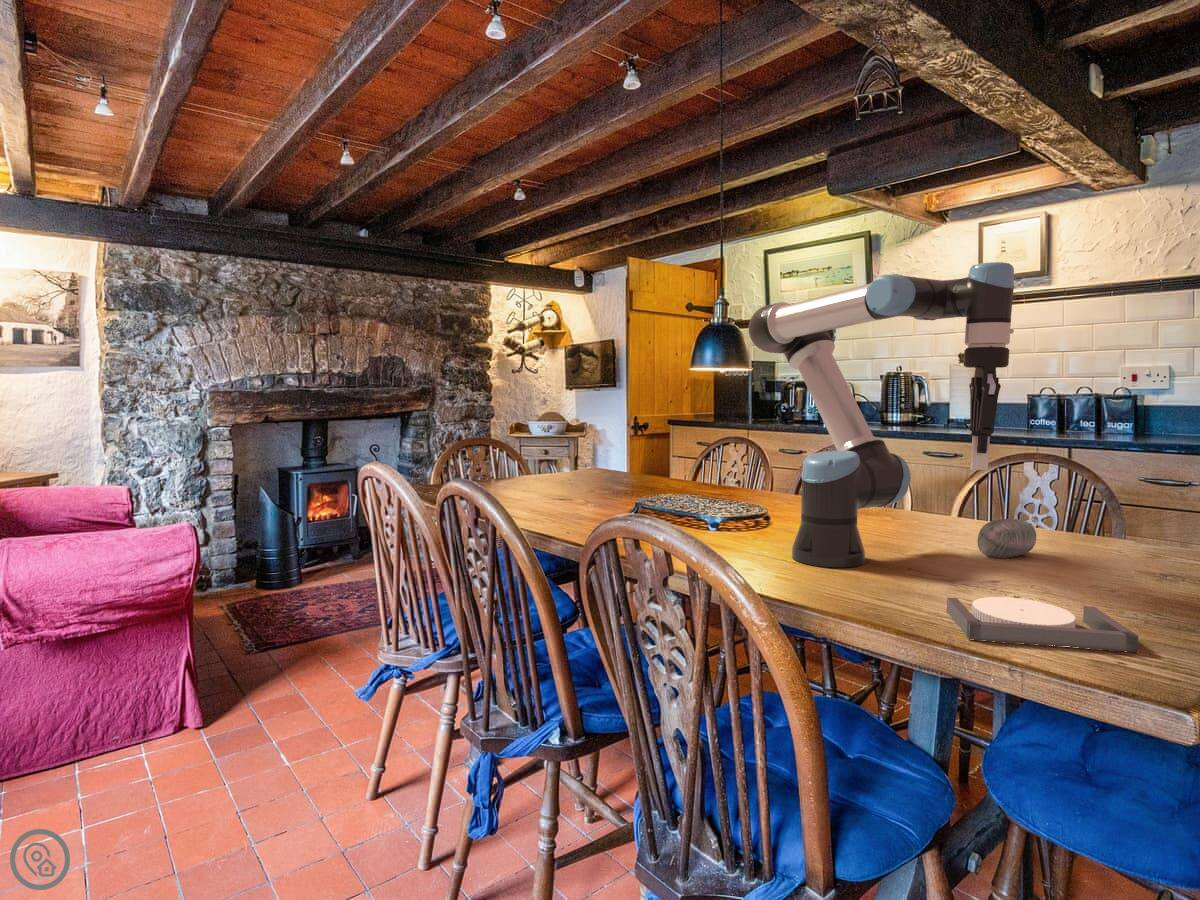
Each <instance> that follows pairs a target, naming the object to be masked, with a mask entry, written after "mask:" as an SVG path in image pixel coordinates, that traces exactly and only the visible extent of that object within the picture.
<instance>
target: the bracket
mask: <svg viewBox="0 0 1200 900" xmlns="http://www.w3.org/2000/svg"><path fill="white" fill-rule="evenodd" d="M947 612H948V613H947ZM946 613H947V614H949V615H950V616H951V617H952V618H951V617H950V616H949V617H950V618H951V620H952V619H953V620H954V621H955V622H956V623H955V622H954V621H953V620H952V621H953V622H954V623H955V624H957V625H958V626H959V627H960V628H961V630H962V631H963V632H964V633H965V634H966V636H967V637H968V638H969V639H974V640H986V641H995V642H1005V643H1004V644H1008V643H1024V644H1038V645H1053V646H1054V645H1055V646H1070V647H1079V648H1090V649H1102V650H1111V651H1110V652H1114V651H1127V652H1137V653H1138V647H1139V635H1138V634H1137V633H1135V632H1133V631H1131V630H1130V629H1129V628H1128V627H1126V626H1124V625H1123V624H1121V623H1119V622H1118V621H1117V620H1115V619H1114V618H1112V617H1111V616H1109V615H1107V614H1106V613H1105V612H1103V611H1102V610H1100V609H1099V608H1098V607H1095V606H1090V605H1088V606H1087V605H1083V615H1082V622H1083V623H1084V624H1086V625H1087V626H1088V627H1090V628H1091V629H1089V628H1078V627H1077V628H1076V627H1075V628H1064V627H1060V626H1045V625H1021V624H1006V623H992V622H981V621H979V620H977V618H975V617H974V616H973V615H972V612H971V611H969V610H968V608H967V607H966V606H965V605H964V604H963V602H961V600H959V599H958V598H957V597H946ZM957 625H956V626H957ZM958 626H957V627H958ZM959 627H958V628H959ZM960 628H959V629H960ZM961 630H960V631H961ZM962 631H961V632H962ZM963 632H962V633H963ZM964 633H963V634H964ZM966 636H965V637H966ZM967 637H966V638H967ZM968 638H967V639H968ZM995 642H994V643H995ZM1127 652H1126V653H1127Z"/></svg>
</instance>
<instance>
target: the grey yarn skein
mask: <svg viewBox="0 0 1200 900" xmlns="http://www.w3.org/2000/svg"><path fill="white" fill-rule="evenodd" d="M1037 537H1038V536H1037V531H1036V529H1035V527H1034V526H1033V525H1032V524H1031V523H1029V522H1028V521H1026V520H1022V519H1017V518H1001V519H995V520H991V521H989V522H987V523H985V524H983V526H982V527H981V528H980V530H979V533H978V535H977V540H976V541H977V542H976V544H977V547H978V550H979V551H980V552H981V553H982V554H983V555H985V556H986V557H989V558H992V559H993V558H994V559H995V558H996V559H1005V558H1015V557H1018V556H1022V555H1025V554H1027V553H1029V552H1030V551H1032V550H1033V549H1034V547H1035V545H1036V542H1037Z"/></svg>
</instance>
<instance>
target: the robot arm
mask: <svg viewBox="0 0 1200 900" xmlns="http://www.w3.org/2000/svg"><path fill="white" fill-rule="evenodd" d="M1015 287H1016V286H1015V268H1014V266H1013V264H1011V263H1009V262H1004V261H1003V262H1002V261H999V262H998V261H997V262H992V261H991V262H982V263H978V264H973V265H971V266H970V268H969V270H968V275H967V277H963V278H955V279H946V280H944V279H942V280H941V279H934V278H932V279H931V278H923V277H915V276H909V275H907V276H906V275H903V274H897V273H895V274H882V275H879V276H878V277H876V278H875V279H874V280H873V281H872V282H871V283H868V284H863V285H859V286H854V287H853V288H849V289H843V290H840V291H836V292H832V293H829V294H824V295H822V296H816V297H813V298H810V299H806V300H801V301H798V302H794V303H791V304H789V303H787V302H785V301H784V302H783V301H781V302H775V303H771V304H768V305H763V306H762V307H760V308H758V309H757V310H756V311H755V312H754V313H753V314H752V316H751V318H749V319H750V320H749V323H748V334H749V337H750V340H751V342H752V344H754V345H755V347H756V348H758V349H759V350H761V351H763V352H766V353H770V354H772V353H773V354H784V357H785V358H786V360H787V362H788V364H789V366H790V368H792V369H794V370H797V371H798V370H799V373H800V374H801V377H802V379H803V381H804V384H805V385H806V388H807V390H808V392H809V394H810V396H811V398H812V400H813V402H814V404H815V406H816V408H817V412H818V413H819V415H820V417H821V419H822V421H823V423H824V425H825V428H826V429H827V432H828V434H829V436H830V438H831V440H832V443H833V445H834V447H835V448H836V450H831V451H829V450H827V451H819V452H814V453H811V454H810V455H807V456H806V457H805V458H804V459H803V462H802V471H801V474H800V475H801V476H800V477H801V498H800V499H801V502H800V503H801V505H800V506H801V507H800V508H801V510H800V511H801V512H800V513H801V514H800V515H801V517H800V519H801V520H800V525H799V528H798V531H797V533H796V536H795V538H794V541H793V545H792V548H791V558H792V559H793V560H794V561H797V562H799V563H803V564H805V565H809V566H816V567H824V568H854V567H857V566H858V567H859V566H862V565H864V564H865V561H866V550H865V548H864V544H863V541H862V539H861V535H860V531H859V527H858V517H859V516H858V513H859V511H858V510H859V509H870V508H882V507H887V506H890V505H894V504H896V503H898V502H900V501H901V500H902V499H904V497H905V496H906V495H907V494H908V493H907V492H908V490H909V486H910V484H911V471H910V468H909V465H908V463H907V461H906V460H905V459H904V458H903V457H901V456H900V455H897V454H895V453H891V452H890V451H889V449H888V447H887V445H886V443H885V441H884V440H883V439H882V438H879V437H875V436H874V435H873V432H872V431H871V429H870V427H869V425H868V423H867V421H866V419H865V417H864V415H863V413H862V410H861V409H860V407H859V405H858V403H857V401H856V399H855V397H854V395H853V393H852V390H851V389H850V387H849V385H848V383H847V381H846V378H845V377H844V375H843V373H842V371H841V369H840V366H839V365H838V363H837V361H836V359H835V357H834V355H833V353H834V351H835V348H836V344H835V341H836V338H837V337H836V335H835V333H837V329H840V328H841V329H842V328H846V327H851V326H855V325H861V324H866V323H869V322H875V321H881V320H886V319H891V318H895V317H896V318H897V317H908V318H909V317H911V318H914V319H915V320H917V321H918V320H919V321H935V320H941V319H953V318H966V319H965V320H966V321H965V332H964V345H965V346H967V348H965V349H964V352H963V353H964V354H963V366H964V367H965V368H970V369H971V368H974V369H975V370H974V374H973V375H974V376H973V377H971V379H970V383H969V393H970V399H969V400H970V402H969V403H970V404H969V406H970V407H969V408H970V410H969V411H970V412H969V413H970V414H969V415H970V417H969V421H970V422H969V430H970V431H969V432H970V435H971V439H972V440H971V453H970V468H969V469H970V470H971V471H972V470H973V471H988V470H989V454H990V440H991V437H992V434H994V433H995V422H996V415H997V410H998V409H997V408H998V400H999V393H1000V390H1001V387H1002V386H1001V383H1000V382H999V381H1000V379H999V378H1000V377H997V368H1007V367H1008V366H1009V363H1010V361H1009V360H1010V349H1009V347H1006V346H1008V345H1009V344H1010V342H1011V341H1010V340H1011V335H1012V334H1014V331H1015V329H1014V328H1011V327H1012V311H1013V310H1012V309H1013V299H1014V290H1015Z"/></svg>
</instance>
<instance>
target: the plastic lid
mask: <svg viewBox="0 0 1200 900" xmlns="http://www.w3.org/2000/svg"><path fill="white" fill-rule="evenodd" d="M971 614H972V615H973V616H974V617H975V618H976V620H977V621H978V622H992V623H1006V624H1021V625H1045V626H1060V627H1064V628H1076V621H1077V617H1076V615H1075V614H1074V613H1072V612H1070V611H1069V610H1067V609H1065V608H1062V607H1060V606H1058V605H1057V606H1056V605H1054V604H1051V603H1046V602H1043V601H1039V600H1031V599H1026V598H1021V597H1020V598H1018V597H1007V596H1006V597H1005V596H991V597H990V596H989V597H988V596H987V597H980V598H977V599H974V600H973V601H972V603H971Z"/></svg>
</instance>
